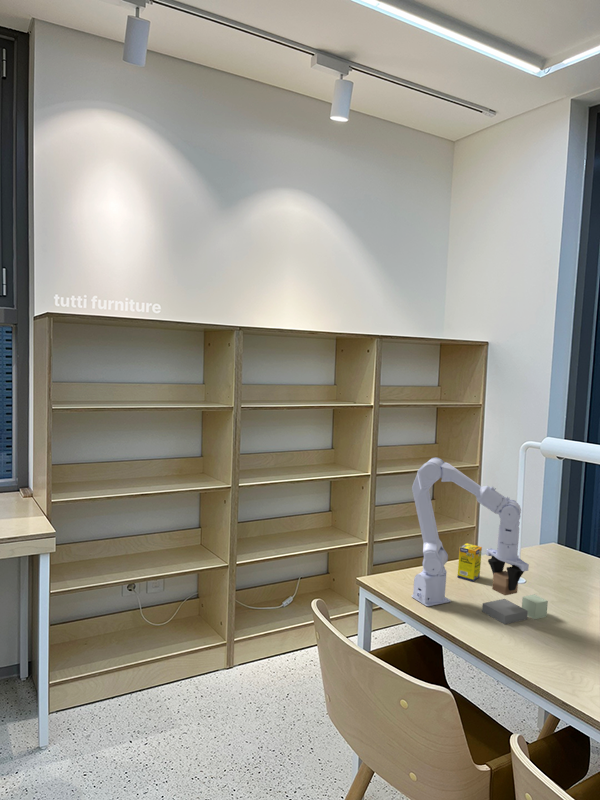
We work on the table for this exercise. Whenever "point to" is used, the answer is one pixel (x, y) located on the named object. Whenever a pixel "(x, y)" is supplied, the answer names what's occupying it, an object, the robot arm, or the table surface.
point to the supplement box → (469, 562)
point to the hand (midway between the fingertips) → (504, 586)
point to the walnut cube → (502, 583)
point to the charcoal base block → (504, 611)
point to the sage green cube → (535, 606)
